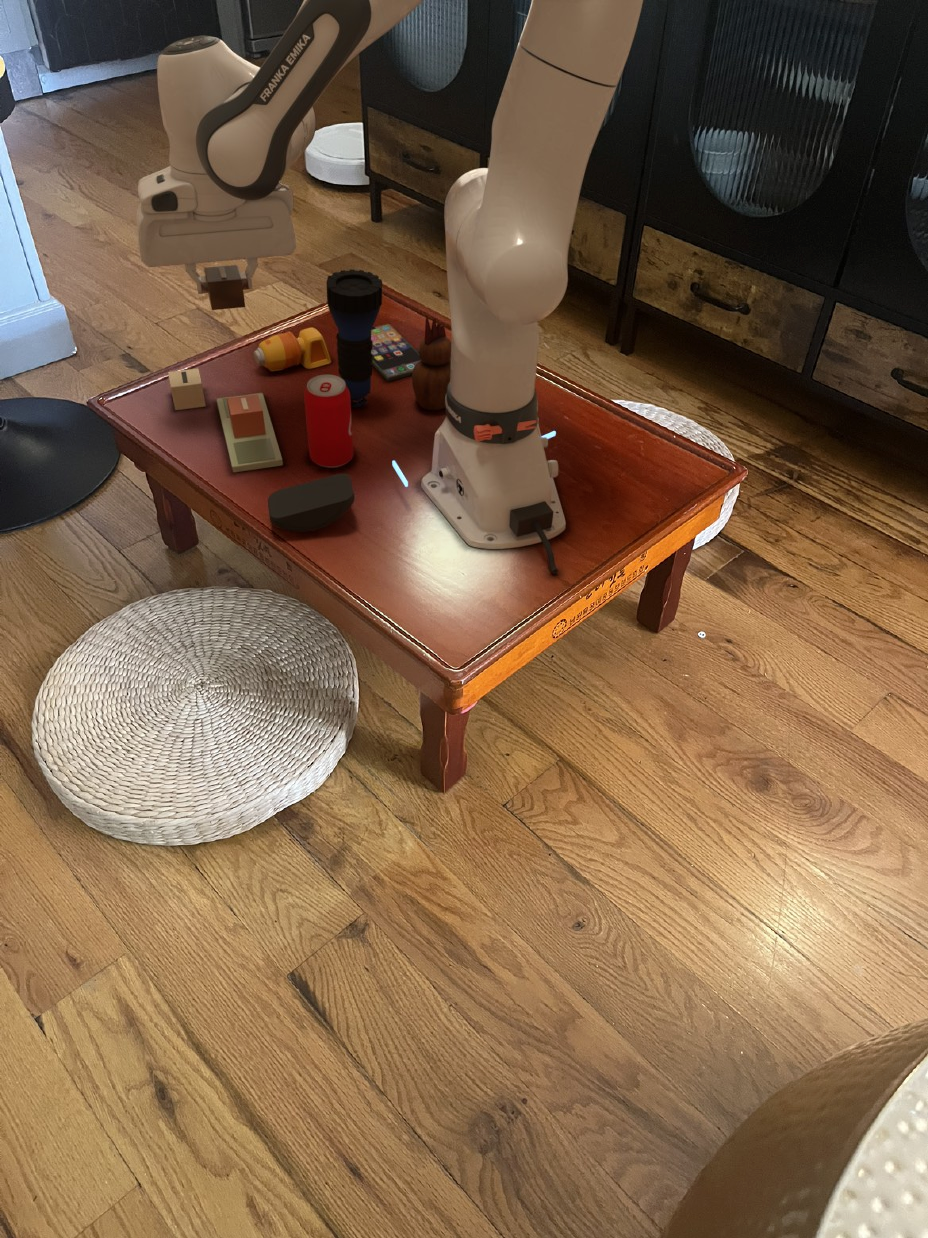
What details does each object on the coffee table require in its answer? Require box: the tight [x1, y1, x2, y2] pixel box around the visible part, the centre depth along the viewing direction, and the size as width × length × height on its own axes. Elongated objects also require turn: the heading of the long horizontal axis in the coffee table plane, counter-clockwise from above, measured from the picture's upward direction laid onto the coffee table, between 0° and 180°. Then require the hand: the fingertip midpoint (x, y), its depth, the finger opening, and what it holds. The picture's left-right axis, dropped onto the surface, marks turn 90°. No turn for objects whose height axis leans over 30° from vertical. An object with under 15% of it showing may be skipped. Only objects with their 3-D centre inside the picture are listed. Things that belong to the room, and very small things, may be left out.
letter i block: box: [167, 368, 206, 411], centre depth 141 cm, size 4×4×4 cm
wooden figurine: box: [411, 317, 451, 411], centre depth 139 cm, size 7×6×15 cm
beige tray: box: [216, 392, 284, 473], centre depth 135 cm, size 18×7×5 cm, turn 17°
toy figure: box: [253, 327, 332, 372], centre depth 149 cm, size 5×6×12 cm
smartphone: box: [371, 323, 421, 382], centre depth 154 cm, size 8×15×1 cm, turn 31°
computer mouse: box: [267, 473, 355, 533], centre depth 122 cm, size 6×11×4 cm, turn 102°
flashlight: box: [325, 269, 383, 408], centre depth 136 cm, size 8×8×20 cm
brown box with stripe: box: [203, 264, 246, 311], centre depth 127 cm, size 4×4×4 cm
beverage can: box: [303, 374, 355, 469], centre depth 130 cm, size 6×6×12 cm
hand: (224, 289), depth 128 cm, fingers closed on brown box with stripe, 4 cm apart
